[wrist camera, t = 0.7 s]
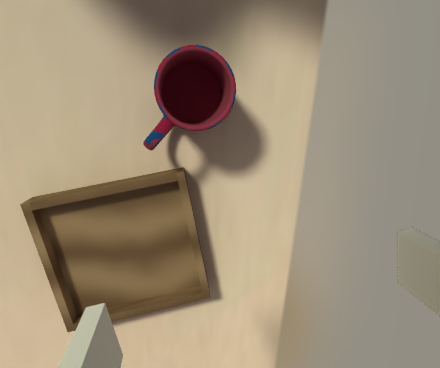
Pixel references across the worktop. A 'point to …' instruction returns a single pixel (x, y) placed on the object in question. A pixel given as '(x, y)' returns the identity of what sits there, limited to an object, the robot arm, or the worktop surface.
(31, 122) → the worktop surface
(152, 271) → the tray
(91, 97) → the worktop surface
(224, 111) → the mug
